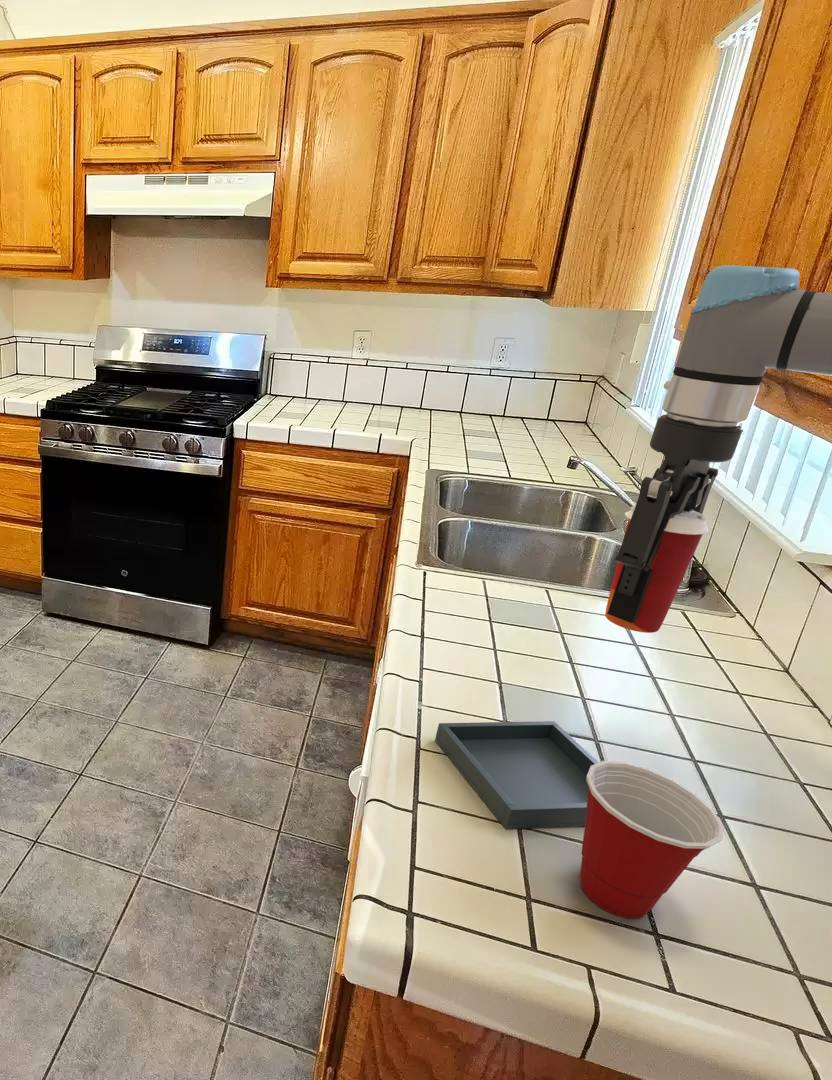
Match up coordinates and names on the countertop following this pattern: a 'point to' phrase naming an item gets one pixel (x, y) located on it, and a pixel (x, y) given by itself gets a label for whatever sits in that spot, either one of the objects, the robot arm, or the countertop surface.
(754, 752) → the countertop surface
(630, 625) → the paper cup
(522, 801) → the tray
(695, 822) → the plastic cup
